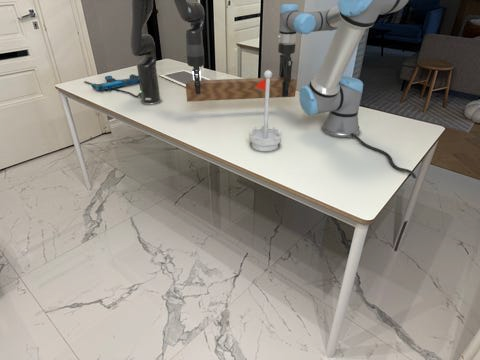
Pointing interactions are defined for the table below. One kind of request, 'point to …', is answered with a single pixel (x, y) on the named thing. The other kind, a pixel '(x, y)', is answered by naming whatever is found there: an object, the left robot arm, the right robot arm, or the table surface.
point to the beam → (237, 89)
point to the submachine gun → (115, 82)
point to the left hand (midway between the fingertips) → (198, 91)
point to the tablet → (181, 77)
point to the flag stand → (265, 123)
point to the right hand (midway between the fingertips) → (283, 94)
